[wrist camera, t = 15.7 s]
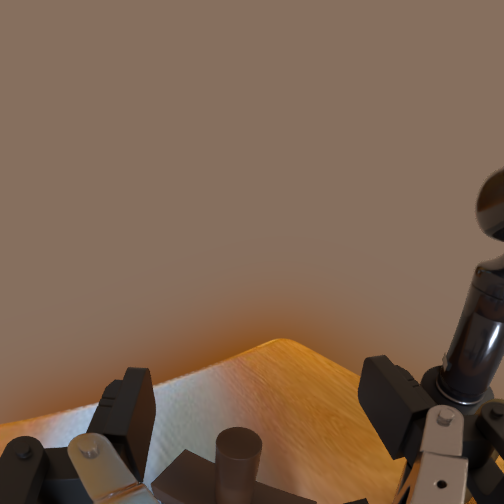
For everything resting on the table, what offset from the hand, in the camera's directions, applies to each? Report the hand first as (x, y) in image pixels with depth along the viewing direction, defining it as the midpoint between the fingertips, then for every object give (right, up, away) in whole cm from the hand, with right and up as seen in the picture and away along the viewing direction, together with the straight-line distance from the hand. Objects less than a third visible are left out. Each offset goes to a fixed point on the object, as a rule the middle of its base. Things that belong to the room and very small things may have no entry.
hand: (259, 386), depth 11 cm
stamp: (-2, -17, +9) cm, 20 cm away
